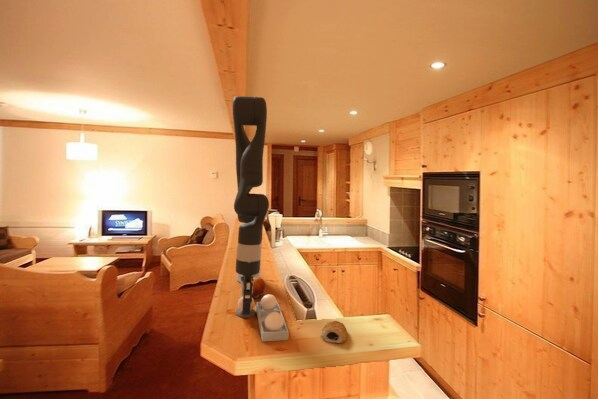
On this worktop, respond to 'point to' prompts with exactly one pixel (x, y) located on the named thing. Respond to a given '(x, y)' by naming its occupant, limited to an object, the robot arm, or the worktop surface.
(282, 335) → the carton
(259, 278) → the fruit
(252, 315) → the mat
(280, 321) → the egg
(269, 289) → the worktop surface
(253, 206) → the robot arm
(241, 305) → the pale pink ball
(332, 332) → the pastry
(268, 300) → the egg
